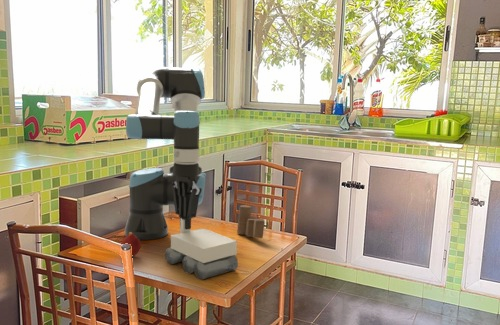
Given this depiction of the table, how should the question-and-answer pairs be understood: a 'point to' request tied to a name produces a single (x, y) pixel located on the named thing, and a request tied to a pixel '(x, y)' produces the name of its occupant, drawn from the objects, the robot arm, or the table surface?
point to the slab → (203, 245)
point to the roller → (215, 267)
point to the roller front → (189, 264)
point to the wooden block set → (249, 223)
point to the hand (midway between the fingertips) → (185, 238)
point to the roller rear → (173, 256)
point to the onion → (132, 243)
